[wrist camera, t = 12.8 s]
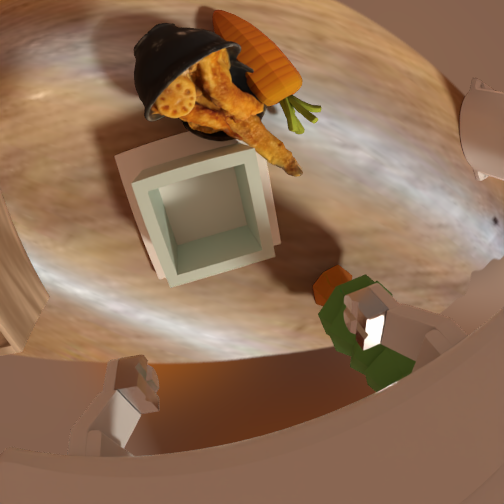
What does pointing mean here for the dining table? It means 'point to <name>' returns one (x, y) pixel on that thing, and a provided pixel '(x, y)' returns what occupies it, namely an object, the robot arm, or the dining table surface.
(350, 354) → the decorative tree
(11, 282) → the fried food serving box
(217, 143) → the open rectangular box
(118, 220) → the dining table surface
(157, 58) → the bowl of food
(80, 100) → the dining table surface
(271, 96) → the carrot
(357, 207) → the dining table surface
